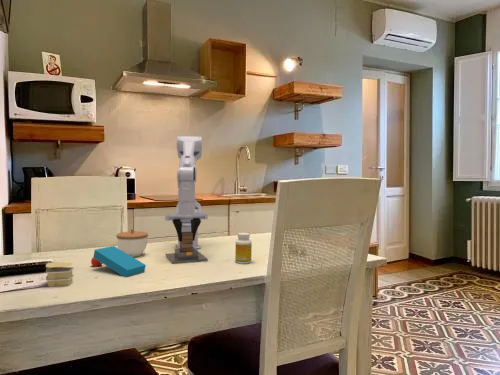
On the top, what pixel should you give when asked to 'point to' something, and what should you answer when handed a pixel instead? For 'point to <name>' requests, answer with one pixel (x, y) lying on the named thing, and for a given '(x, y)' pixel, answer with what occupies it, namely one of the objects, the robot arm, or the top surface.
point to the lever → (117, 261)
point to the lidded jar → (132, 242)
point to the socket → (186, 256)
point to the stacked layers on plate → (59, 274)
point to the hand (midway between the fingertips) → (186, 240)
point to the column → (186, 242)
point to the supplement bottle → (243, 248)
